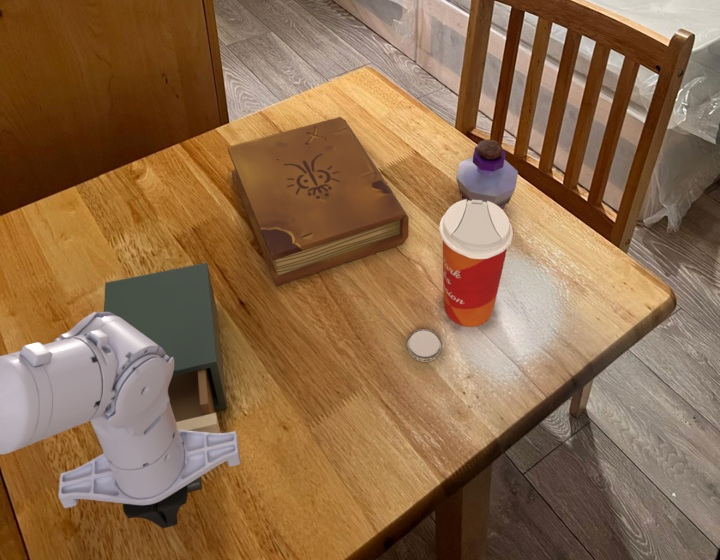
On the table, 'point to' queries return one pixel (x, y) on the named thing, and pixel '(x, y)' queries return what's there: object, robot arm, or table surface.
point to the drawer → (193, 406)
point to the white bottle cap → (424, 345)
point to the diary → (315, 199)
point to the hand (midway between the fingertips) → (169, 515)
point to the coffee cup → (473, 259)
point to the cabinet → (175, 318)
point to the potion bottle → (487, 175)
